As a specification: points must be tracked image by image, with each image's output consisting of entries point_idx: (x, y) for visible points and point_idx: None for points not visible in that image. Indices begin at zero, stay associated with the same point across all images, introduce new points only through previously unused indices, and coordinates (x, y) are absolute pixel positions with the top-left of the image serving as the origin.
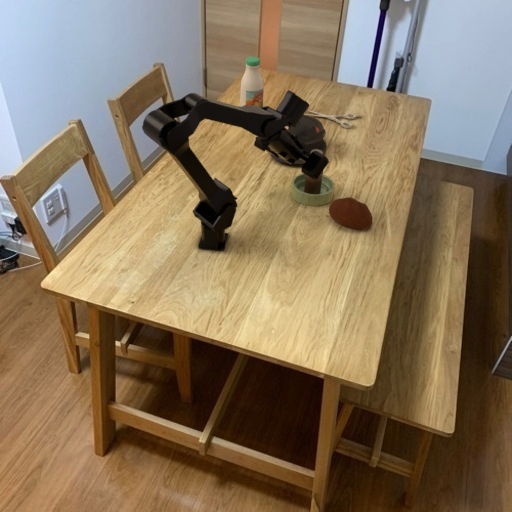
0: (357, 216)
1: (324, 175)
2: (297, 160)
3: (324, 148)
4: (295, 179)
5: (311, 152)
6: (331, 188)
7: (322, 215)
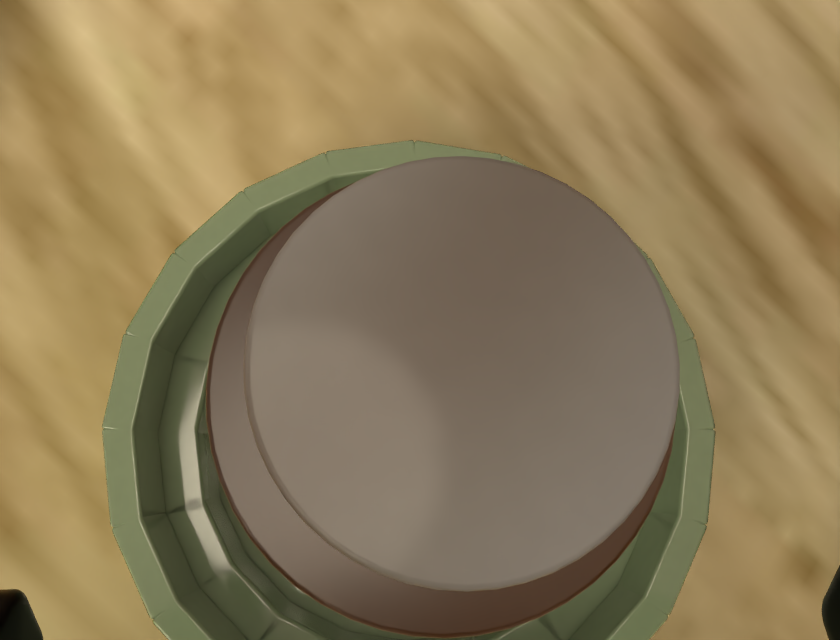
0: None
1: (353, 158)
2: (41, 638)
3: None
4: (162, 553)
5: (360, 536)
6: None
7: (767, 603)
